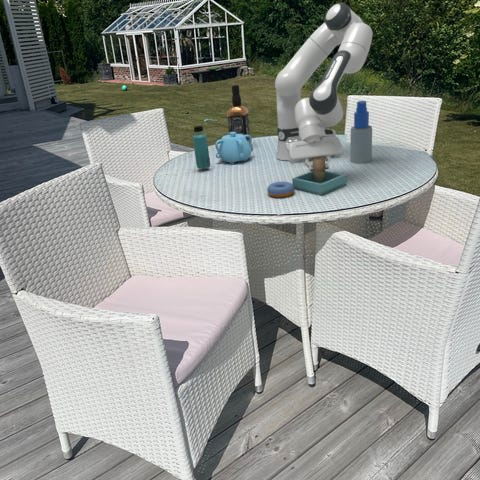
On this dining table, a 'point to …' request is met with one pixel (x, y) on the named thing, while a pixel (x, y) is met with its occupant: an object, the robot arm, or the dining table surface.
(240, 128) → the whiskey bottle
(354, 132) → the spray bottle
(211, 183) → the dining table surface
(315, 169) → the brown wooden cylinder
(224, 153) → the decorative pot
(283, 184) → the doughnut
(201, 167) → the beverage bottle
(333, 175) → the box
